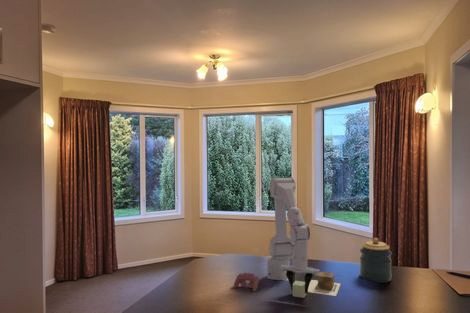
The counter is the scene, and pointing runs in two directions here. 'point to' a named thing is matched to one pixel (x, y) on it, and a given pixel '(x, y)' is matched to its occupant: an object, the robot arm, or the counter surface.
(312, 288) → the cream square tray
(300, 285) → the sage block
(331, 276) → the walnut block
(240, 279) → the video game controller
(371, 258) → the canister
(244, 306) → the counter surface
